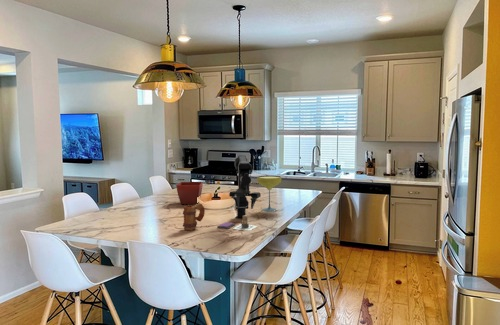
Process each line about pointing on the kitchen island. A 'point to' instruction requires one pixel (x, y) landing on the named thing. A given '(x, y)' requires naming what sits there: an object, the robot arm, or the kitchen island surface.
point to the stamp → (245, 222)
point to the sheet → (245, 228)
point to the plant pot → (189, 192)
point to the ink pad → (226, 225)
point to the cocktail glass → (269, 185)
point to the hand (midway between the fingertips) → (245, 208)
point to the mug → (192, 216)
